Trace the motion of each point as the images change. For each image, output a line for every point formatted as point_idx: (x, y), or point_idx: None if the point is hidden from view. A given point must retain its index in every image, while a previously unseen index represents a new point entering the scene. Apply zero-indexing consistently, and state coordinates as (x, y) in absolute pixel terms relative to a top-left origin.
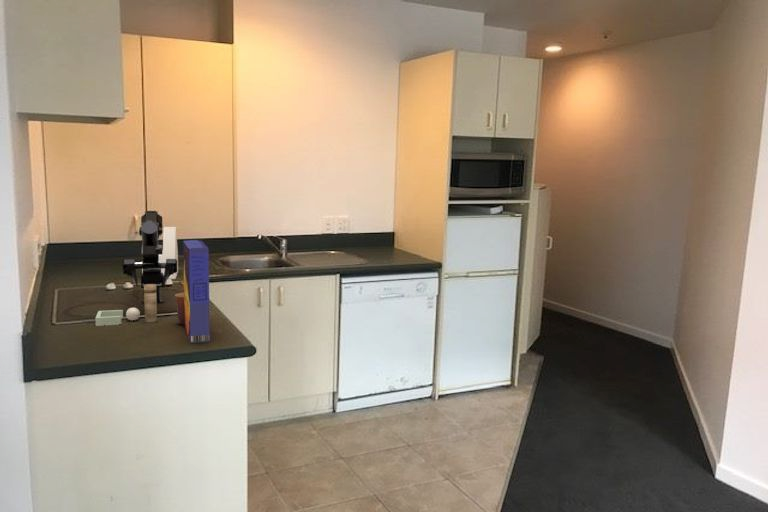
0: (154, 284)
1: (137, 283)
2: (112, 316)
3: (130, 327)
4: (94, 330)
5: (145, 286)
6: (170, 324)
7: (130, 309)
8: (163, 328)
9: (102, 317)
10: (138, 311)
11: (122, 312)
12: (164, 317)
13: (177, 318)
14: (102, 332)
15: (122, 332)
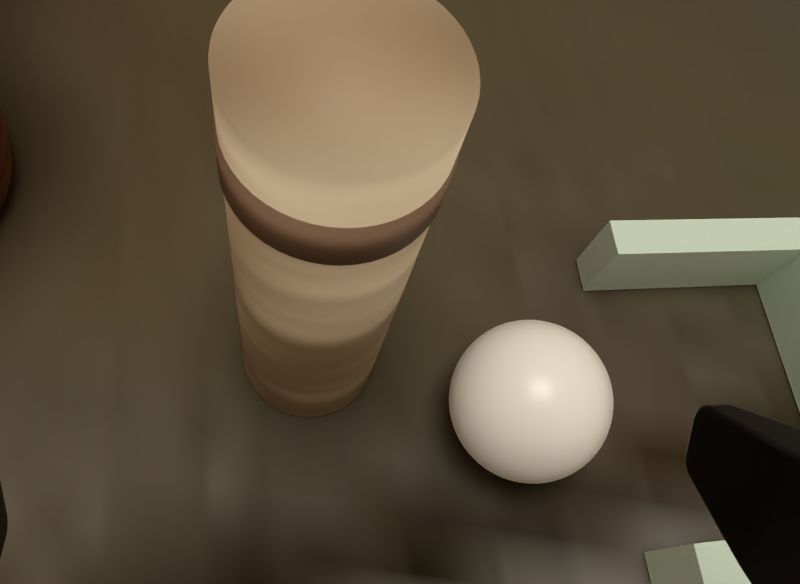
0: (251, 110)
1: (739, 544)
2: (695, 246)
3: (469, 151)
4: (721, 123)
5: (433, 11)
6: (102, 179)
7: (571, 343)
8: (176, 59)
9: (771, 223)
10: (470, 363)
11: (682, 546)
12: (154, 528)
13: (4, 144)
14: (641, 58)
15: (496, 25)
